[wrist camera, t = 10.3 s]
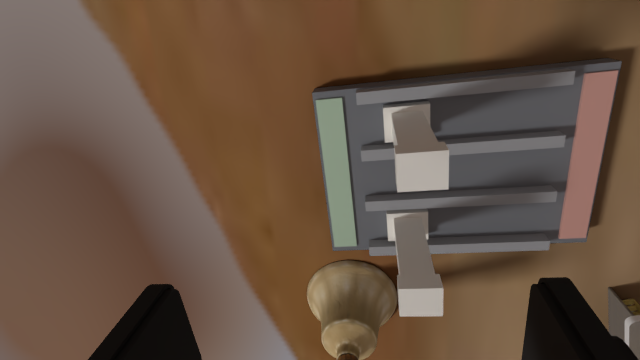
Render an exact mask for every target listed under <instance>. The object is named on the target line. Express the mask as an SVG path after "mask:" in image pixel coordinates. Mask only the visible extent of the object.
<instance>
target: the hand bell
mask: <svg viewBox="0 0 640 360" xmlns="http://www.w3.org/2000/svg"><path fill="white" fill-rule="evenodd" d="M307 299H308V303H309V306H310V308H311V310H312V312H313V313H314V315H315V316H316V317H317V318H318V320H320V321H321V328H322V335H321V338H322V343H323V346H324V348H325V349H326V350H327V352H328V353H329V354H330V355H332V356H333V357H335V358H337V360H363V359H365V358H367V357H368V356H370V355H371V354H372V353H373V351H374V350H375V348H376V345H377V337H378V331H379V327H381V326H382V325H384V324H385V323H386V322H387V321H388V320H389V319H390V317H391V316H392V315H393V313H394V311H395V309H396V306H397V291H396V288H395V286H394V284H393V282H392V281H391V279H390V278H389V277H388V276H387V275H386V274H385V273H384V272H383V271H382V270H380V269H379V268H377V267H376V266H373V265H371V264H368V263H365V262H361V261H354V260H344V261H337V262H334V263H331V264H328V265H326V266H324V267H323V268H321V269H320V270H318V271H317V272H316V273H315V274H314V275H313V277H312V278H311V280H310V282H309V284H308V289H307Z"/></svg>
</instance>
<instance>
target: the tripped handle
mask: <svg viewBox="0 0 640 360" xmlns="http://www.w3.org/2000/svg"><path fill="white" fill-rule="evenodd" d="M383 120H384V138H385V143H388V142H393V144H394V153H395V175H396V186H397V192H411V191H429V190H446V189H449V149H448V147H447V145H446V143H445V142H438V141H437V139H436V137H435V135H434V133H433V131H432V129H431V127H430V103H429V101H422V102H412V103H401V104H391V105H383Z"/></svg>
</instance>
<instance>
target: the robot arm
mask: <svg viewBox="0 0 640 360" xmlns="http://www.w3.org/2000/svg"><path fill="white" fill-rule="evenodd" d="M88 360H202V359H201V354H200V352H199V349H198V346H197V343H196V340H195V337H194V334H193V331H192V328H191V325H190V323H189V320H188V317H187V314H186V311H185V308H184V305H183V302H182V299H181V296H180V294H179V291H178V290H176V289H174V287H173V286H172V285H170V284H152V285H149V286H147V287H146V289H145V290H144V291H143V292H142V293H141V295H140V296H139V297H138V298H137V300H136V301H135V302H134V304H133V305H132V306H131V307H130V308H129V309H128V311H127V312H126V313H125V314H124V316H123V317H122V318H121V319H120V321H119V322H118V323H117V324H116V326H115V327H114V328H113V329H112V331H111V332H110V333H109V334H108V336H107V337H106V338H105V339H104V340H103V342H102V343H101V344H100V345H99V347H98V348H97V349H96V350H95V352H94V353H93V354H92V355H91V357H90V358H89V359H88ZM522 360H639V359H638V358H637V357H636V356H635V354H634V353H633V352H632V350H631V349H630V348H629V346H628V345H627V344H626V343H625V342H624V341H623V340H622V339H621V338H619V337H617V336H611V335H610V333H609V332H608V331H607V329H606V328H605V326H604V325H603V324H602V322H601V321H600V320H599V318H598V317H597V316H596V314H595V313H594V311H593V310H592V309H591V307H590V306H589V305H588V303H587V302H586V301H585V299H584V298H583V296H582V295H581V294H580V292H579V291H578V290H577V288H576V287H575V285H574V284H573V283H572V281H571V280H570V279H569V278H566V277H563V278H540V280H539V282H538V284H532V286H531V290H530V298H529V305H528V313H527V321H526V329H525V337H524V345H523V353H522Z"/></svg>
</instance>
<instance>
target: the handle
mask: <svg viewBox="0 0 640 360" xmlns="http://www.w3.org/2000/svg"><path fill="white" fill-rule="evenodd" d="M386 216H387V232H388V241H395V245H396V254H397V263H398V272H399V275H397V286H398V304H399V314H400V316H443V285H442V281H441V278H440V274H435V271H434V267H433V263H432V259H431V255H430V251H429V247H428V243H427V240H428V210H427V208H425V209H405V210H386Z"/></svg>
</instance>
